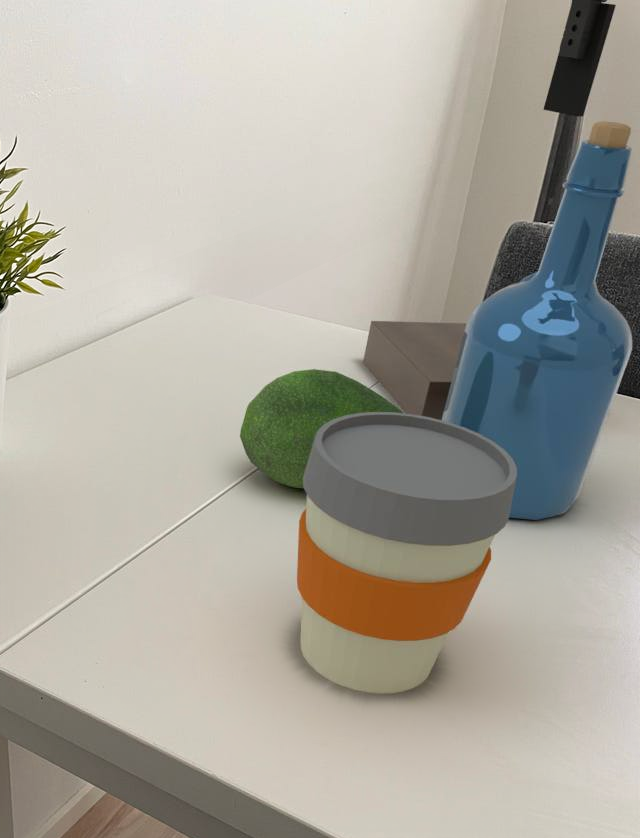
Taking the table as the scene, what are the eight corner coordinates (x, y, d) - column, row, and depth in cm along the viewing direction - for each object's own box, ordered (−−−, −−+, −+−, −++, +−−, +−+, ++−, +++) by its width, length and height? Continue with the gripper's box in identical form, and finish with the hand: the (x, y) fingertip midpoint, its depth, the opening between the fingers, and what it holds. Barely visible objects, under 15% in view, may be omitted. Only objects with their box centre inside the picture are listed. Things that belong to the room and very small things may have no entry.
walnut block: (506, 366, 118) (518, 324, 115) (581, 430, 104) (597, 384, 101) (362, 363, 115) (371, 320, 112) (418, 429, 101) (430, 381, 98)
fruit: (401, 472, 92) (427, 367, 86) (406, 522, 84) (434, 411, 78) (239, 449, 93) (254, 345, 88) (229, 497, 85) (244, 385, 80)
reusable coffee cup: (242, 619, 70) (272, 420, 62) (388, 590, 75) (436, 402, 66) (336, 730, 61) (387, 515, 53) (496, 690, 66) (568, 486, 57)
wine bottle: (577, 539, 84) (721, 149, 67) (420, 506, 87) (518, 123, 69) (574, 473, 95) (697, 123, 77) (434, 445, 98) (522, 101, 80)
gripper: (766, -244, 70) (653, 98, 82) (568, -319, 56) (469, 105, 68) (880, -249, 65) (742, 114, 77) (695, -331, 51) (564, 125, 64)
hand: (614, 111), depth 73 cm, fingers open, 13 cm apart
